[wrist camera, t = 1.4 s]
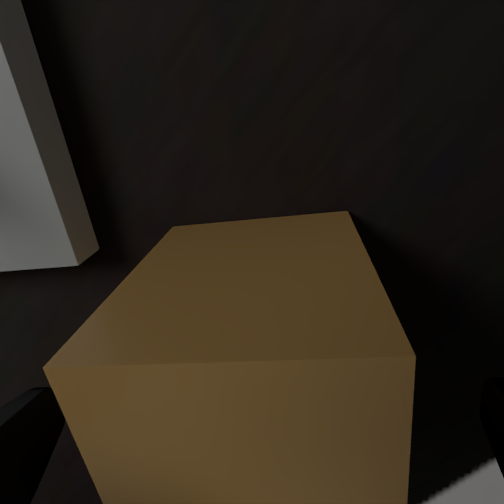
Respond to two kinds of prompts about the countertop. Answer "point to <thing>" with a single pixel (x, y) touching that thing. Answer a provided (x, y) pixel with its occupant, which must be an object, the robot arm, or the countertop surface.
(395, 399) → the cardboard carton
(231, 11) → the countertop surface
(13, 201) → the post plate
